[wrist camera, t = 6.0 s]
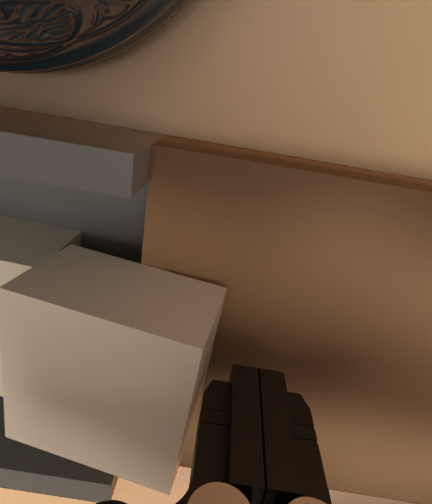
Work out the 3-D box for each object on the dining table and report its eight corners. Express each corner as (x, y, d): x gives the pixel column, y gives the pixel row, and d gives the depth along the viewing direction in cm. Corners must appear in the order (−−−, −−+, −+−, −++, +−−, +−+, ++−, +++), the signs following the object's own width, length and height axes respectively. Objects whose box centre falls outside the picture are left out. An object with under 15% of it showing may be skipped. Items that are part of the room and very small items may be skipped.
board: (167, 135, 12) (151, 144, 10) (583, 206, 12) (664, 231, 10) (139, 407, 17) (124, 457, 14) (440, 455, 17) (472, 511, 15)
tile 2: (71, 244, 11) (-2, 287, 9) (227, 288, 11) (203, 349, 8) (65, 368, 13) (4, 436, 11) (196, 411, 13) (169, 494, 10)
